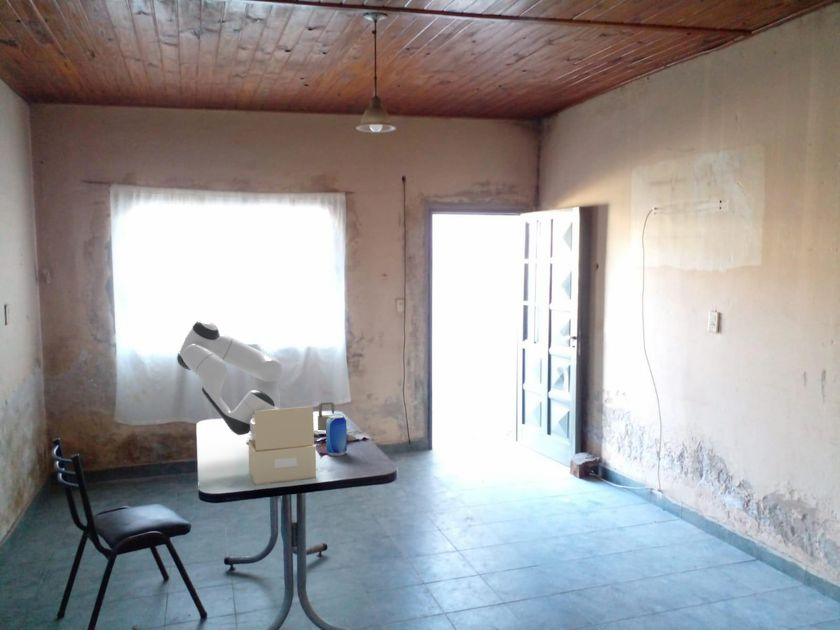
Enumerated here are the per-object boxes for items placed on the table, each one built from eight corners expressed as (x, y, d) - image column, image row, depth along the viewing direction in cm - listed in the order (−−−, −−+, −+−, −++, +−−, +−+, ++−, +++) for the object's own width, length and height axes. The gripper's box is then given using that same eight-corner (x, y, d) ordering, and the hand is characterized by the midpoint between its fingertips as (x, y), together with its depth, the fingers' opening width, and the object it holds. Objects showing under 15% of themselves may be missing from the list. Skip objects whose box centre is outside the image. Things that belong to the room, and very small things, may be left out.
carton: (249, 470, 255) (248, 440, 254) (306, 464, 262) (305, 434, 262) (255, 485, 238) (254, 452, 237) (316, 478, 246) (315, 446, 245)
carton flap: (254, 410, 238) (254, 411, 237) (312, 406, 245) (312, 406, 245) (255, 450, 238) (255, 450, 237) (313, 444, 245) (314, 444, 245)
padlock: (336, 433, 311) (335, 402, 310) (318, 434, 309) (318, 403, 308) (335, 431, 315) (334, 400, 314) (317, 432, 313) (317, 401, 312)
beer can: (332, 457, 272) (332, 419, 271) (322, 453, 279) (322, 415, 278) (350, 454, 277) (350, 416, 276) (340, 449, 284) (340, 412, 283)
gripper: (301, 428, 258) (308, 436, 245) (247, 431, 251) (252, 440, 238) (302, 412, 258) (309, 419, 245) (247, 415, 250) (252, 422, 237)
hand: (280, 429), depth 241 cm, fingers closed, pressing on carton flap
